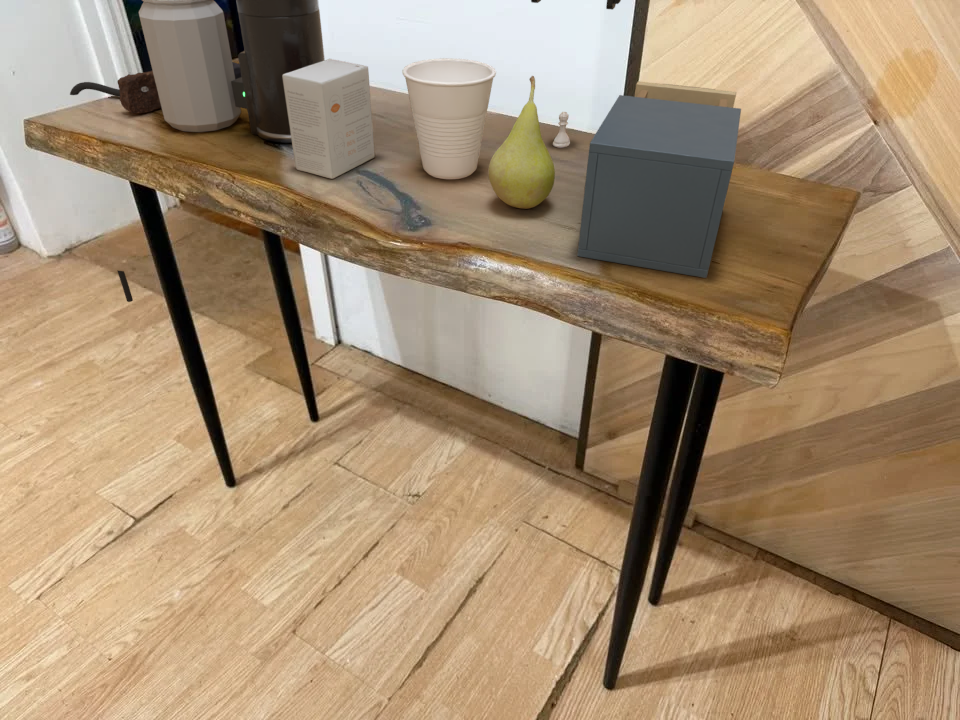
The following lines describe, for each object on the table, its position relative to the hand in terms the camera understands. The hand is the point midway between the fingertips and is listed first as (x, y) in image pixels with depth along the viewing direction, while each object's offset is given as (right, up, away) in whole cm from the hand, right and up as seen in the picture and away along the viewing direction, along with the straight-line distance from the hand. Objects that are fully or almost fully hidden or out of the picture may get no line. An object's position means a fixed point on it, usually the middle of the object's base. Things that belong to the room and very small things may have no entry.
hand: (573, 5), depth 80 cm
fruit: (-6, -24, -5) cm, 25 cm away
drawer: (+10, -20, -2) cm, 22 cm away
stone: (-56, -5, +18) cm, 59 cm away
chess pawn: (0, -13, +9) cm, 16 cm away
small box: (-27, -17, +3) cm, 32 cm away
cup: (-14, -18, +2) cm, 23 cm away
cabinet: (+6, -27, -10) cm, 30 cm away
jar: (-47, -9, +14) cm, 49 cm away
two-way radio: (-45, +2, +24) cm, 51 cm away
